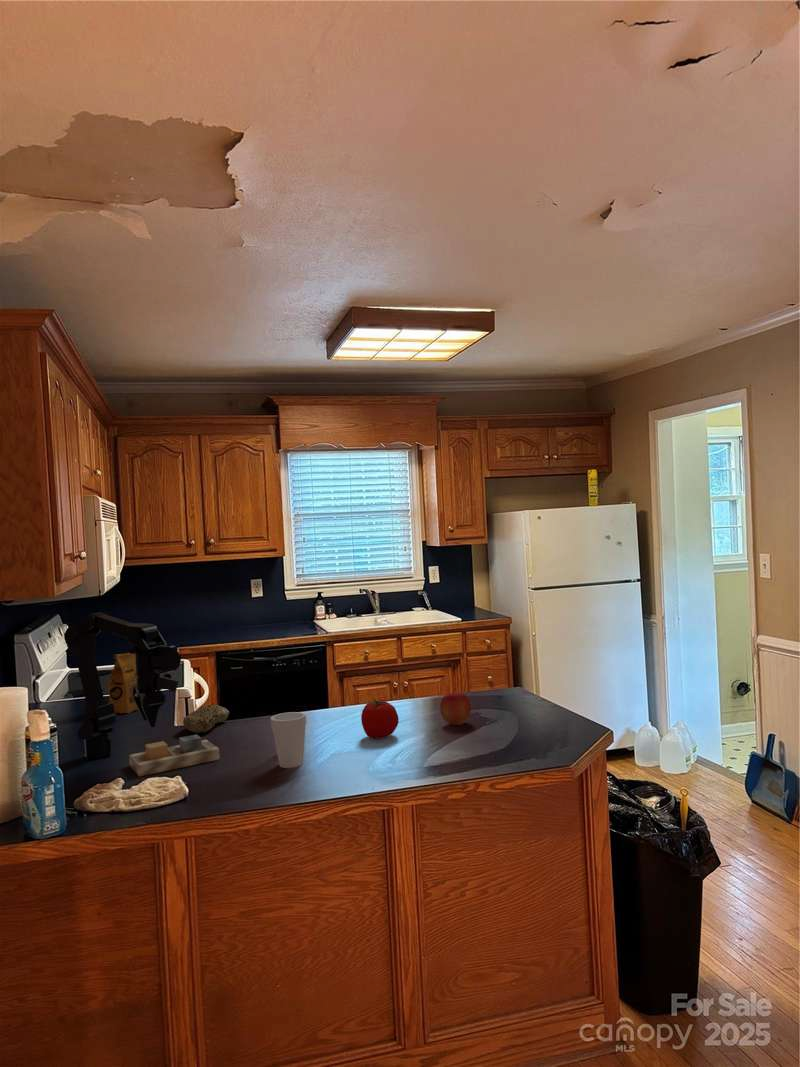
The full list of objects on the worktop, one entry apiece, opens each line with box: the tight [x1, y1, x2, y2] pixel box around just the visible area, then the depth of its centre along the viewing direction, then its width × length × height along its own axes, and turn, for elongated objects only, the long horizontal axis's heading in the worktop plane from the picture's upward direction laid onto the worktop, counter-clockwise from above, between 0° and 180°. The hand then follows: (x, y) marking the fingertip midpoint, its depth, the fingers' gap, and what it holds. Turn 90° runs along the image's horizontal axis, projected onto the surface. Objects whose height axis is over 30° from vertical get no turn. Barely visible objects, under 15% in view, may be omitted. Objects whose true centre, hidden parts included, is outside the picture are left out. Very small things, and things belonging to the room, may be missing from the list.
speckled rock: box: [182, 704, 230, 734], centre depth 251 cm, size 13×8×20 cm
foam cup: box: [270, 711, 307, 769], centre depth 205 cm, size 10×9×13 cm
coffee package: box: [107, 652, 139, 715], centre depth 286 cm, size 10×12×22 cm
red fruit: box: [360, 698, 399, 739], centre depth 226 cm, size 12×12×11 cm
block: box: [144, 740, 169, 761], centre depth 212 cm, size 5×5×6 cm
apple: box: [439, 691, 472, 726], centre depth 236 cm, size 10×10×10 cm
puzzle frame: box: [128, 733, 221, 777], centre depth 214 cm, size 22×12×6 cm, turn 121°
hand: (149, 723), depth 217 cm, fingers open, 9 cm apart
